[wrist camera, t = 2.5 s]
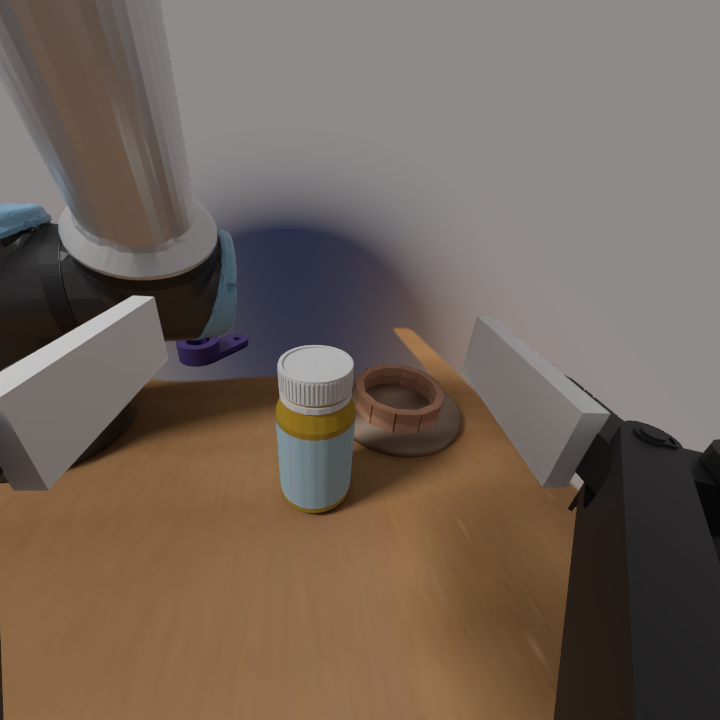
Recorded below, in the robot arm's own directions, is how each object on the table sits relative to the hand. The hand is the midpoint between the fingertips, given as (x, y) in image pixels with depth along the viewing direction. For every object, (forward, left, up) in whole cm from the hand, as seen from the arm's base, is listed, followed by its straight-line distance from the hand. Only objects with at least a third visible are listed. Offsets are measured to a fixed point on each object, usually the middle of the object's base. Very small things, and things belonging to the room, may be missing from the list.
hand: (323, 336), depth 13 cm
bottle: (-9, +5, -22) cm, 25 cm away
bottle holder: (-15, +21, -22) cm, 34 cm away
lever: (-43, +3, -23) cm, 49 cm away
